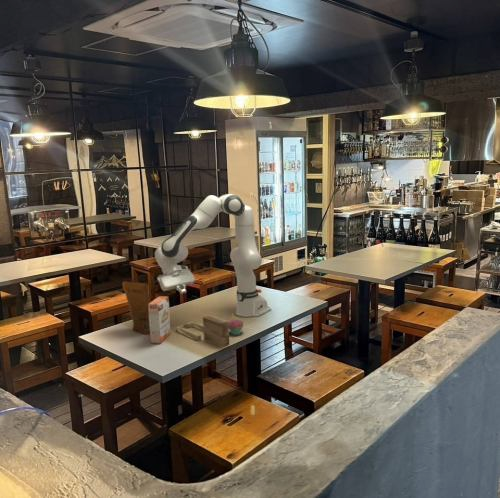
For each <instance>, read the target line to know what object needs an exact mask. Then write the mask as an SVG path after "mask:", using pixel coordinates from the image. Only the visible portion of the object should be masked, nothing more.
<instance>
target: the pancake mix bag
mask: <svg viewBox="0 0 500 498" xmlns="http://www.w3.org/2000/svg"><path fill="white" fill-rule="evenodd" d="M121 285H122V288H123V291H124V294H125V297H126V301H127V304H128V308H129V311H130V316H131V319H132V322H133V324H132V331H133V332H137V333H139V334H143V335H150V325H149V310H148V304H149V303H150V302H151V301H150V291H149V285H148V284H147V283H141V282H133V281H131V282H130V281H123V282H122V283H121Z"/></svg>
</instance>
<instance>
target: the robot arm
mask: <svg viewBox="0 0 500 498" xmlns="http://www.w3.org/2000/svg"><path fill="white" fill-rule="evenodd" d="M221 212H223V213H225V214H227V215H232V216H234V230H235V232H234V233H235V240H236V242H237V245H238V246H237V247H234V248H233V249H231V251H230V254H229V257H230V260H231V262H232V264H233V268H234V272H235V276H236V289H237V290H236V299H237V300H236V309H235V315H237V316H239V317H246V318H247V317H248V318H249V317H254V318H255V317H256V318H257V317H260V316H262V315H264V314H266V313H268V312H270V311H271V310H272V307H271V306H269V305H268V302H267V300H266V299H265V298H264V297H262V296H261V295H259V294H260V293H262V289H260V288H258V289H257V282H256V280H257V279H256V275H255V273H254V270H256V269H257V270H258V268H259V267H260V266H261V265H262V261H263V260H262V255H260V253H259V250H258V246H257V242H256V236H255V218H254V217H255V216H254V211H253V209H252V207H251V206H249V205H245V203H244V202H243V200H242V199H241V197H239V196H237V195H235V194H233V193H225V194H222V195H220V196H219V197H218V196H216V195H213V194H212V195H208V196H206V197H205V198H204V200H203V201H202V202H201V203H200V204H199V205H198V206H197V208H196V209H195V210H194V212H193V213H192V214H191V215H190V216H187V218H185V219H184V220H183V221H182V223H180V225H179V226H178V227H177V228H176V229H175V231H174V232H173V233H172V234H171V235H170V236H169V237H166V238H165V239H164V241H163V242H162V243H161V245H160V246H159V247H158V248H156V249H155V251H154V258H155V260H156V262H157V264H158V266H159V267H160V268H161V272H162V274H159V275H158V276H157V277H156V279H157V282H158V284H159V285H160V288H161V290H162V291H163V292H166V291H171V290H174V289H175V290H176V291H178V292H179V293H180V295H182V294H186V293H187V289H186V286H189V285H193V284H194V282H195V281H196V278H195V276H194V275H193V273H192V272H191V270H189V267H188V266H187V265H180V264H179V263H181V262H182V261H184V260H186V259H187V258H188V255H189V249H188V247H187V246H186V245H185V244H183V243H182V242H183V241H184V240H185V238H186V237H187V236H189V234H190V233H191V232H192V231H194V230H199V229H200V230H202V229H206V228H208V227H209V226H210V225H211V223H213V221H214V220H215V218H216V217H217V215H219V213H221ZM269 310H270V311H269Z"/></svg>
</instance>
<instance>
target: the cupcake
mask: <svg viewBox="0 0 500 498" xmlns="http://www.w3.org/2000/svg"><path fill="white" fill-rule="evenodd" d="M231 317H232V319H231V320H229V321H228V324H229V333H230V334H231V335H233V336H237V335H240V334H241V332H242V329H243V328H244V322H243V321H241V320H239V319H235V317H234V313H233V312H232V313H231Z"/></svg>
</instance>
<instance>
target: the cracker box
mask: <svg viewBox="0 0 500 498" xmlns="http://www.w3.org/2000/svg"><path fill="white" fill-rule="evenodd" d="M148 310H149V325H150V334H149V338H150V344H159V345H160V344H162V343H163V342H164V341H165V340H167V338H168V337H169V336H170V335H171V315H170V300H169V296H164V295H163V296H157V297H156V298H154V299H153V300H152V301H150V303H149V304H148Z"/></svg>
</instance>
